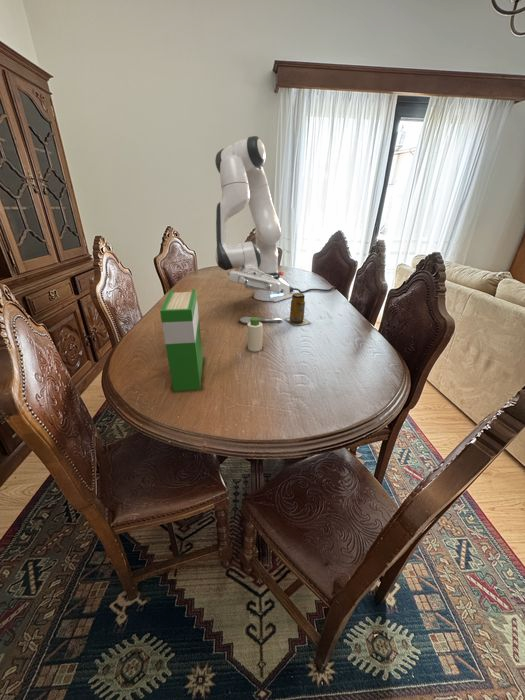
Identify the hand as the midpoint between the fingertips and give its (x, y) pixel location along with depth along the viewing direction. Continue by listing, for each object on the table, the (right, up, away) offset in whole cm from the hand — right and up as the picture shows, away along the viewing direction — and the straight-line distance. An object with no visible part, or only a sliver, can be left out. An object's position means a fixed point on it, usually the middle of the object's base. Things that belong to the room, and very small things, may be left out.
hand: (257, 285), depth 106 cm
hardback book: (-21, -32, -17) cm, 42 cm away
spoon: (+1, -12, +20) cm, 23 cm away
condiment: (+17, -12, +21) cm, 29 cm away
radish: (-1, -23, -2) cm, 24 cm away
